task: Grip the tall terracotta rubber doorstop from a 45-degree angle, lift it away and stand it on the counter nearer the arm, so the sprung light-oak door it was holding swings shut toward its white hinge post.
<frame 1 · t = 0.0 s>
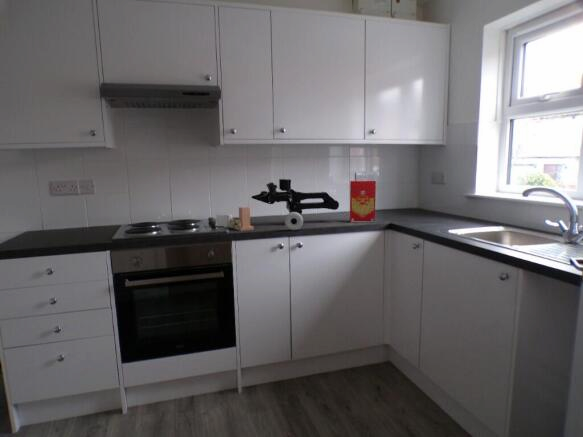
hand: (253, 197, 211), 17 cm above the worktop, tool horizontal, fingers open, 9 cm apart
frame: (230, 227, 211), on the worktop
food packaging: (362, 222, 228), on the worktop
donut: (294, 230, 200), on the worktop
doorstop: (244, 228, 205), on the worktop
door: (234, 224, 204), point 3 cm above the worktop, hinge at 38.2°
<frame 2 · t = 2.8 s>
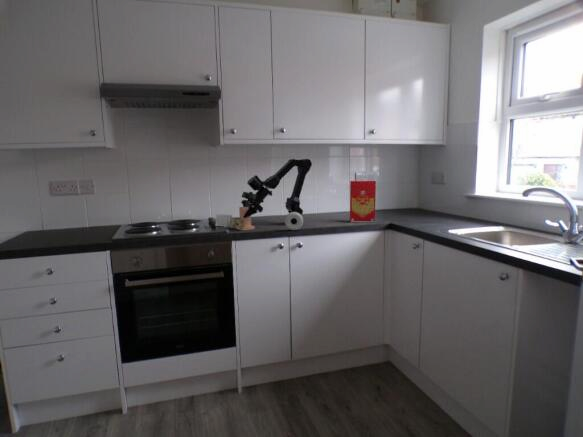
hand: (242, 217, 204), 7 cm above the worktop, tool tilted 45°, fingers closed on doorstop, 5 cm apart
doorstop: (245, 228, 206), on the worktop, touching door, gripper
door: (235, 224, 204), point 3 cm above the worktop, hinge at 34.9°, touching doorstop
everything else where it was.
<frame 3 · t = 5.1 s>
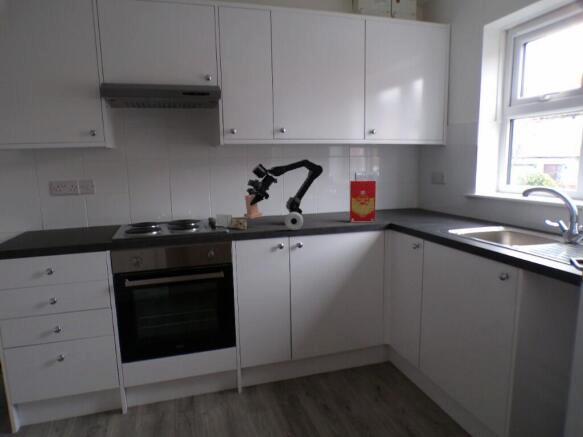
hand: (248, 204, 207), 13 cm above the worktop, tool tilted 45°, fingers closed on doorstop, 5 cm apart
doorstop: (253, 216, 210), point 6 cm above the worktop, tilted 9°, touching gripper
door: (238, 223, 205), point 3 cm above the worktop, hinge at 23.7°
everything else where it was.
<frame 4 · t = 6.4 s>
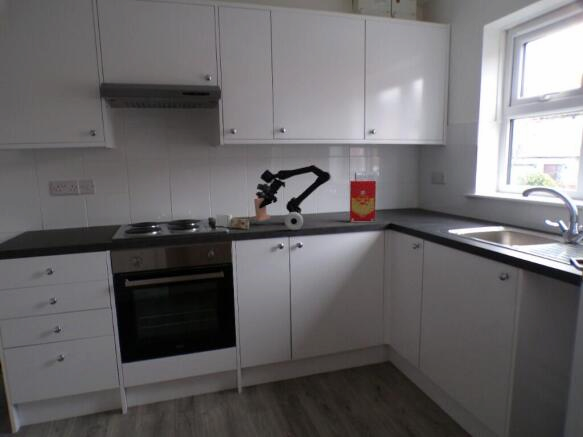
hand: (257, 207, 216), 10 cm above the worktop, tool tilted 45°, fingers closed on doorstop, 5 cm apart
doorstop: (261, 218, 219), point 4 cm above the worktop, tilted 8°, touching gripper
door: (239, 223, 206), point 3 cm above the worktop, hinge at 16.1°
everything else where it was.
when the fingers open (8 cm above the worktop, at t = 7.2 s): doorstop stays where it is, on the worktop.
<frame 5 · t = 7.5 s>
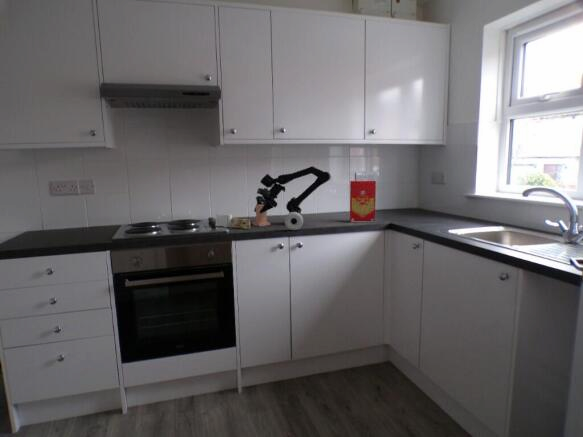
hand: (257, 212, 216), 8 cm above the worktop, tool tilted 45°, fingers open, 8 cm apart
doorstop: (261, 224, 219), on the worktop
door: (240, 223, 207), point 3 cm above the worktop, hinge at 11.8°
everything else where it was.
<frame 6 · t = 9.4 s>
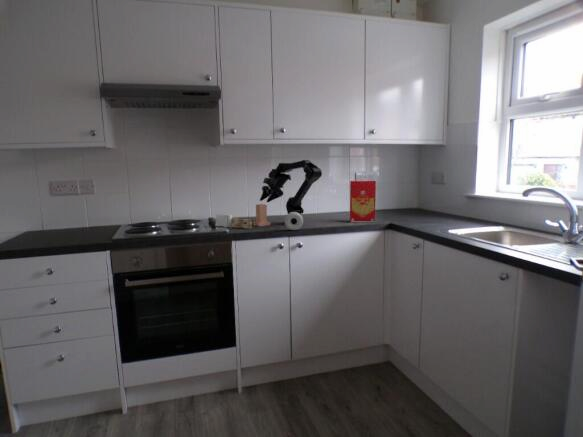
hand: (263, 201, 221), 14 cm above the worktop, tool tilted 45°, fingers open, 9 cm apart
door: (241, 223, 207), point 3 cm above the worktop, hinge at 7.0°
everything else where it was.
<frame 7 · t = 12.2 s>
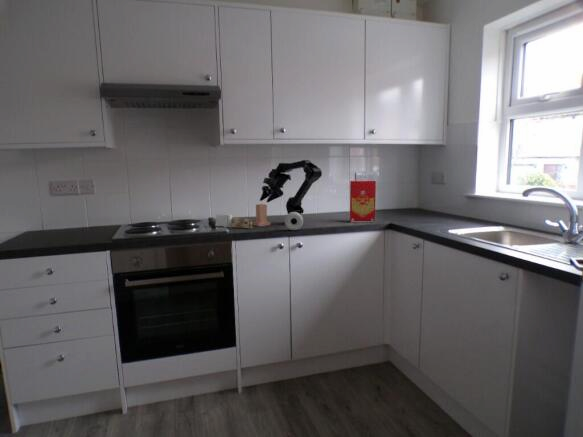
hand: (263, 201, 221), 14 cm above the worktop, tool tilted 45°, fingers open, 9 cm apart
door: (241, 223, 207), point 3 cm above the worktop, hinge at 3.6°
everything else where it was.
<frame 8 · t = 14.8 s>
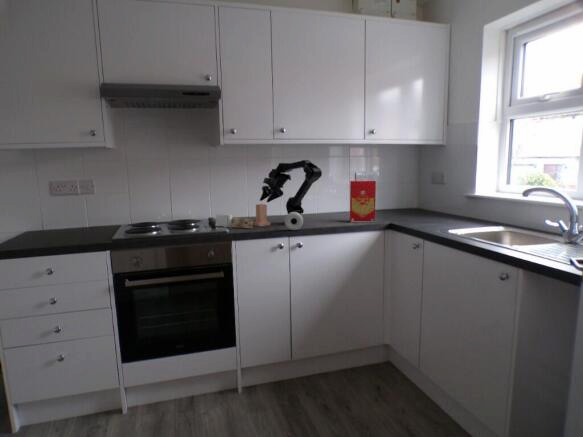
hand: (263, 201, 221), 14 cm above the worktop, tool tilted 45°, fingers open, 9 cm apart
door: (241, 223, 208), point 3 cm above the worktop, hinge at 2.2°
everything else where it was.
at the end: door at +2° (first picture: +38°); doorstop inside the target area (1.6 cm from its centre), on the worktop; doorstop tilted 0° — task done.
